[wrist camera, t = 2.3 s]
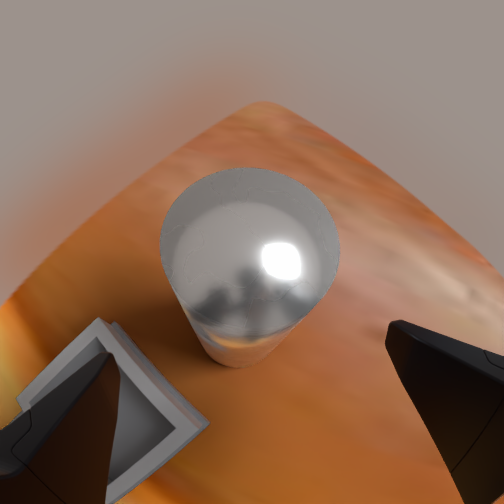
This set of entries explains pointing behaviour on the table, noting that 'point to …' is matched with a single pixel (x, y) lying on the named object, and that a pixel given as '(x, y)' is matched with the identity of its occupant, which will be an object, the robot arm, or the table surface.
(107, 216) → the table surface
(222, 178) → the cylinder
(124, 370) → the grey socket holder
